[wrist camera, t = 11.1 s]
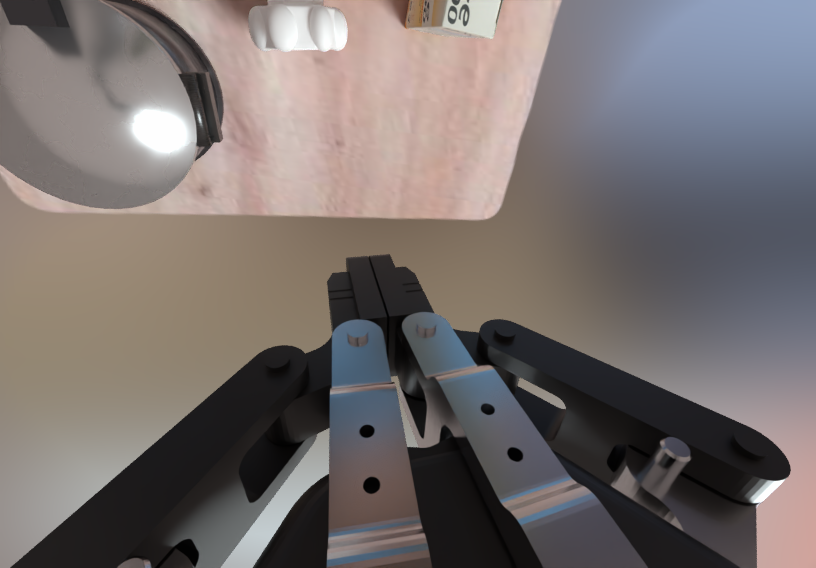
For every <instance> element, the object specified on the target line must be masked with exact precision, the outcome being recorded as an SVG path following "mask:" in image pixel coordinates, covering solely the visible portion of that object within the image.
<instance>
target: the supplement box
mask: <svg viewBox="0 0 816 568" xmlns="http://www.w3.org/2000/svg"><path fill="white" fill-rule="evenodd" d="M502 3H503V0H409V4H408V10H407V16H406V22H405V28H406V29H411V30H416V31H421V32H426V33H431V34H436V35H440V36H445V37H463V38H488V39H493V37H494V34H495V30H496V27H497V22H498V18H499V14H500V10H501V6H502Z"/></svg>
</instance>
